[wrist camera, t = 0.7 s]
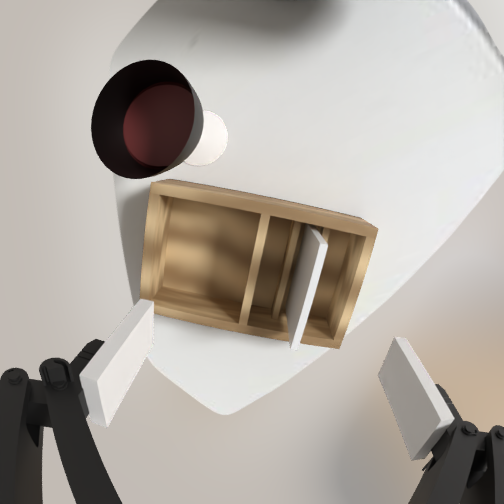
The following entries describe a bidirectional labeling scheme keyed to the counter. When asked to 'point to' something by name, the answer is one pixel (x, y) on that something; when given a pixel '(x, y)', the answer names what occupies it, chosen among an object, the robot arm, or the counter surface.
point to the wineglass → (153, 122)
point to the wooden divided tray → (248, 261)
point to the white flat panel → (304, 283)
